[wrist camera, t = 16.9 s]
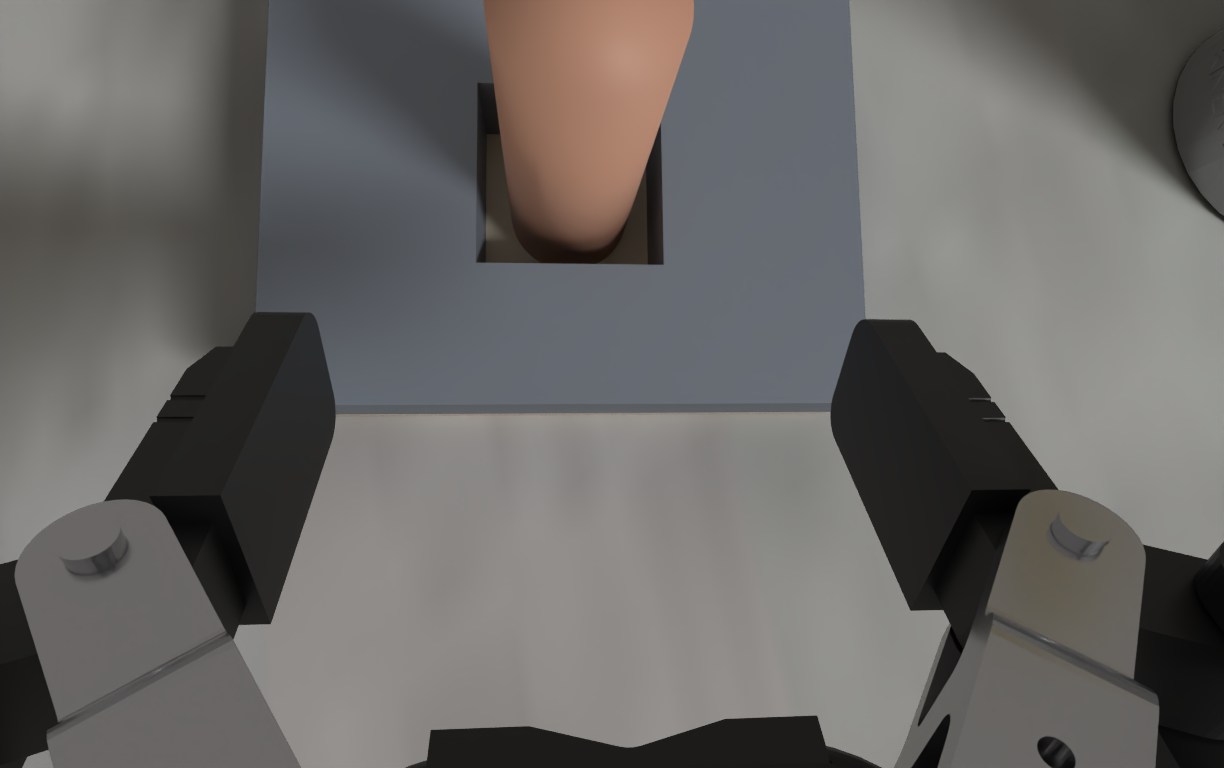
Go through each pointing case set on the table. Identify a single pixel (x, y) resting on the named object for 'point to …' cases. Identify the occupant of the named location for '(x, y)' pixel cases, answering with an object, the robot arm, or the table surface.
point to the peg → (580, 113)
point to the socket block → (561, 293)
